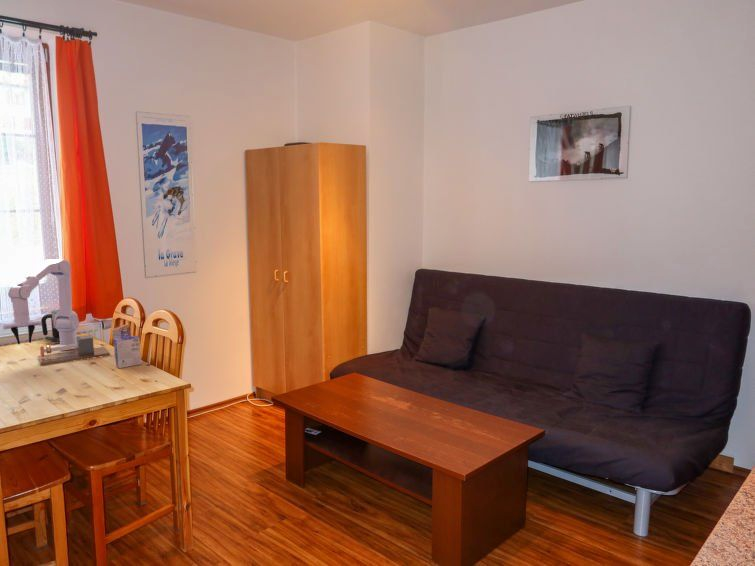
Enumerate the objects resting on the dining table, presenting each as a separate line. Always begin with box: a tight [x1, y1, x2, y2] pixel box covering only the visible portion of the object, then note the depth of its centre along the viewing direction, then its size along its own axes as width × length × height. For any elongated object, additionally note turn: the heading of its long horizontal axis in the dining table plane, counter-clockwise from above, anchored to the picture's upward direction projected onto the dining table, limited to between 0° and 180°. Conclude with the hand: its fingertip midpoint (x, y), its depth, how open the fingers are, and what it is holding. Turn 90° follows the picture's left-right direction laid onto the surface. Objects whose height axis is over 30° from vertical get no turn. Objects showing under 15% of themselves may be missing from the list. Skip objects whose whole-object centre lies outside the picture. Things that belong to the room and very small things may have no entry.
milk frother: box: [41, 309, 60, 344], centre depth 306 cm, size 14×16×15 cm
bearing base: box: [37, 334, 111, 366], centre depth 275 cm, size 28×14×9 cm, turn 123°
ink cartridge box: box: [112, 332, 142, 369], centre depth 260 cm, size 10×6×14 cm, turn 129°
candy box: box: [111, 324, 131, 363], centre depth 268 cm, size 9×4×15 cm, turn 177°
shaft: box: [38, 343, 79, 357], centre depth 272 cm, size 19×5×5 cm, turn 123°
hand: (24, 343), depth 263 cm, fingers open, 4 cm apart
